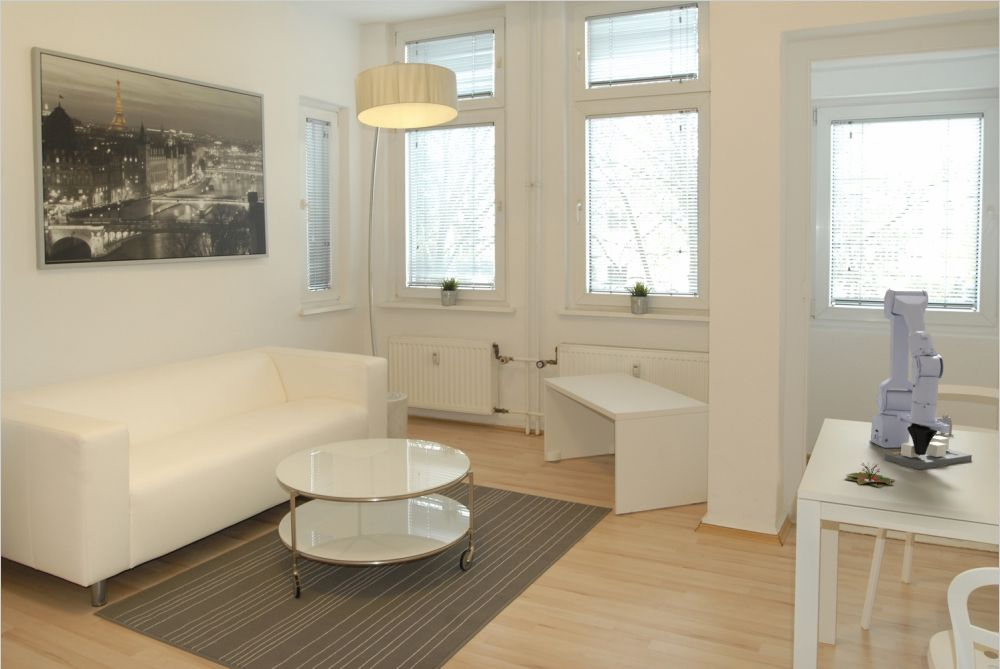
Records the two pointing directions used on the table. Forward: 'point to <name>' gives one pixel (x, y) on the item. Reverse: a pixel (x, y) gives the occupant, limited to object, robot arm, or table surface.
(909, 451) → the light grey block
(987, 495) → the table surface
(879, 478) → the lily flower
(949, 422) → the caliper
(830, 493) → the table surface
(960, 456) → the switch panel
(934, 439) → the tab
